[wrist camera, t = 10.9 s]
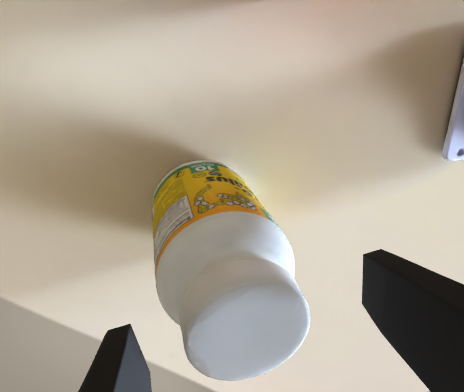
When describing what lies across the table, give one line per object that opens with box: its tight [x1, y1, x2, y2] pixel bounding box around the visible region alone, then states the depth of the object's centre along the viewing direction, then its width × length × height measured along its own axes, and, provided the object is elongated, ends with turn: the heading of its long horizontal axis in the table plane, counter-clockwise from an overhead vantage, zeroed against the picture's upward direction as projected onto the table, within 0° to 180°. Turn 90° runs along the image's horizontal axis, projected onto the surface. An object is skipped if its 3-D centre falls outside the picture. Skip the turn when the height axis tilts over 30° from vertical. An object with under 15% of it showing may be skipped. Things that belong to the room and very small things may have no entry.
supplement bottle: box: [152, 160, 310, 381], centre depth 14 cm, size 5×5×10 cm
